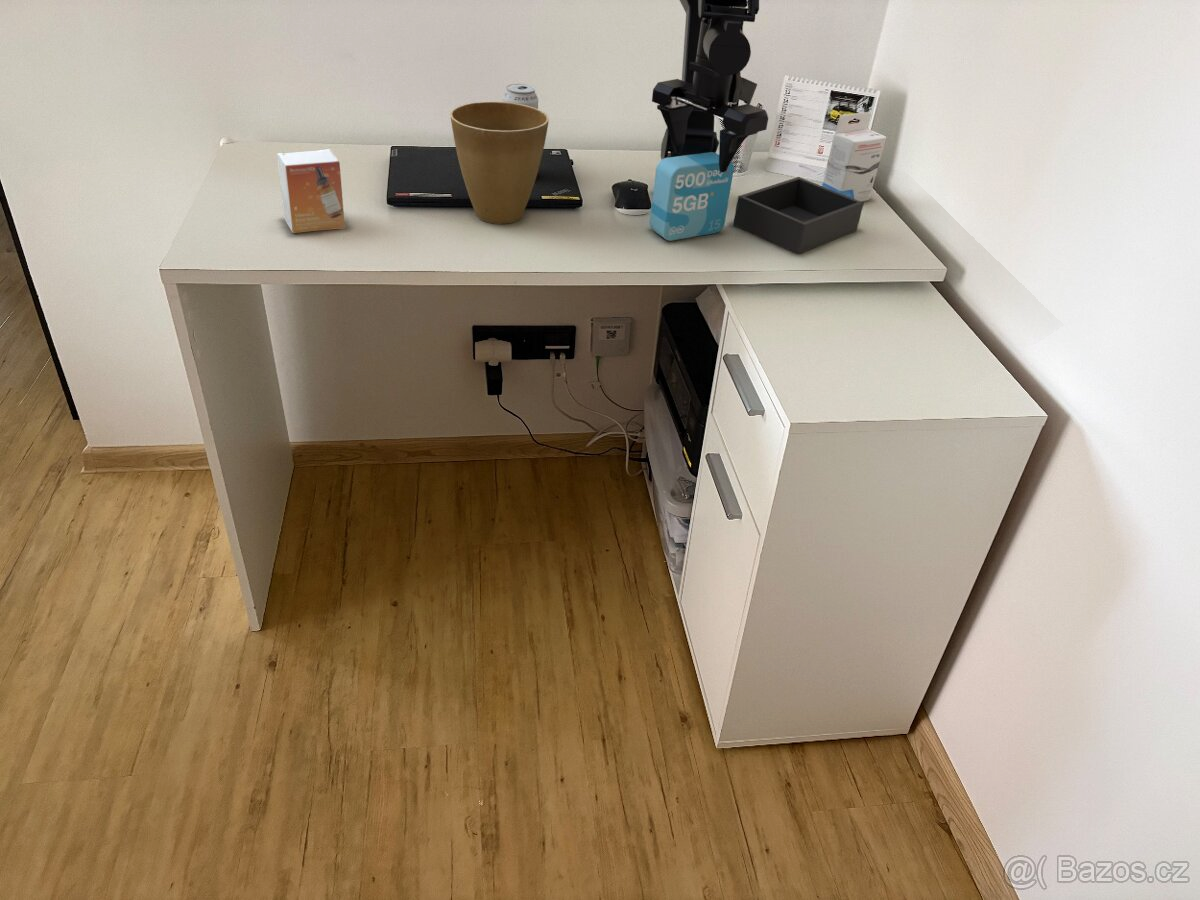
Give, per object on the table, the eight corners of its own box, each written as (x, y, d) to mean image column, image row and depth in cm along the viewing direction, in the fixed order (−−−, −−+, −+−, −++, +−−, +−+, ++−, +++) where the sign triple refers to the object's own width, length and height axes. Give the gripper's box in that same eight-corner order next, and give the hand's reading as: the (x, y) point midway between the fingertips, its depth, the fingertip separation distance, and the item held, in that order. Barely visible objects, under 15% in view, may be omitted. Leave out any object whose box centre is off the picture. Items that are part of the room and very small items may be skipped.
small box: (292, 235, 136) (283, 165, 130) (284, 220, 140) (275, 152, 134) (346, 228, 140) (340, 160, 133) (336, 214, 143) (330, 147, 137)
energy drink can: (494, 174, 162) (495, 87, 153) (514, 166, 166) (516, 80, 157) (522, 183, 160) (525, 95, 151) (541, 174, 164) (545, 88, 155)
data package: (663, 242, 145) (672, 168, 138) (647, 231, 148) (656, 158, 141) (723, 232, 150) (736, 160, 143) (707, 221, 153) (719, 150, 146)
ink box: (837, 207, 163) (858, 124, 154) (818, 197, 167) (837, 115, 158) (870, 200, 167) (892, 118, 159) (851, 190, 171) (871, 110, 162)
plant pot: (560, 212, 151) (566, 114, 142) (512, 242, 141) (515, 138, 131) (485, 189, 156) (486, 93, 147) (433, 217, 146) (430, 115, 136)
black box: (732, 224, 153) (738, 196, 150) (792, 204, 163) (798, 176, 160) (798, 254, 146) (804, 224, 143) (856, 230, 155) (864, 202, 152)
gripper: (800, 66, 133) (779, 171, 142) (704, 36, 143) (690, 136, 152) (752, 75, 126) (733, 185, 135) (655, 43, 136) (644, 147, 146)
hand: (700, 162), depth 142 cm, fingers open, 9 cm apart
